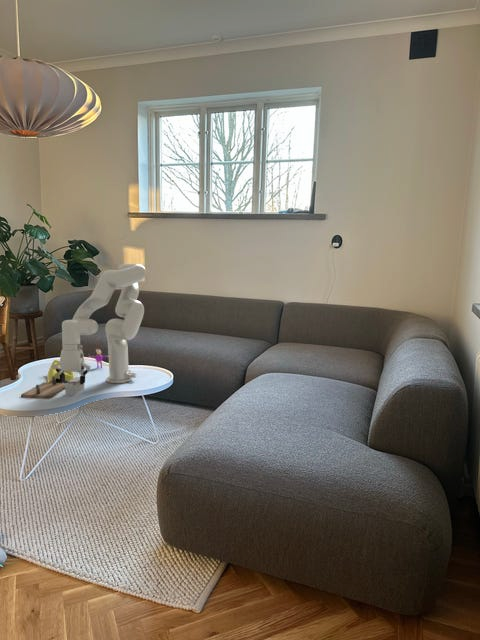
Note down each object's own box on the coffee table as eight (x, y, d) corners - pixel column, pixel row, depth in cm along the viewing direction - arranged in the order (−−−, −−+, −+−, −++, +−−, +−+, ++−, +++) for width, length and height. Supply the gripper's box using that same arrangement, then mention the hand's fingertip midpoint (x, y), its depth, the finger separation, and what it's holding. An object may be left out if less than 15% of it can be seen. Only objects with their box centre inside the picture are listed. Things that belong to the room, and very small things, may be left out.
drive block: (84, 389, 203) (83, 377, 202) (74, 396, 193) (73, 383, 192) (76, 388, 204) (75, 376, 203) (65, 396, 194) (64, 383, 193)
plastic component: (74, 377, 214) (54, 371, 209) (68, 390, 214) (47, 384, 209) (71, 364, 232) (52, 358, 227) (65, 377, 232) (46, 371, 227)
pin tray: (70, 385, 208) (69, 375, 207) (50, 398, 190) (49, 387, 189) (43, 384, 209) (43, 374, 209) (21, 397, 192) (20, 386, 191)
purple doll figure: (110, 366, 241) (109, 346, 239) (109, 368, 238) (107, 347, 236) (89, 367, 240) (88, 346, 238) (88, 368, 237) (87, 347, 235)
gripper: (93, 346, 197) (94, 382, 199) (58, 344, 199) (59, 379, 201) (85, 349, 190) (86, 386, 192) (49, 347, 192) (50, 384, 194)
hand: (72, 383), depth 197 cm, fingers open, 9 cm apart
